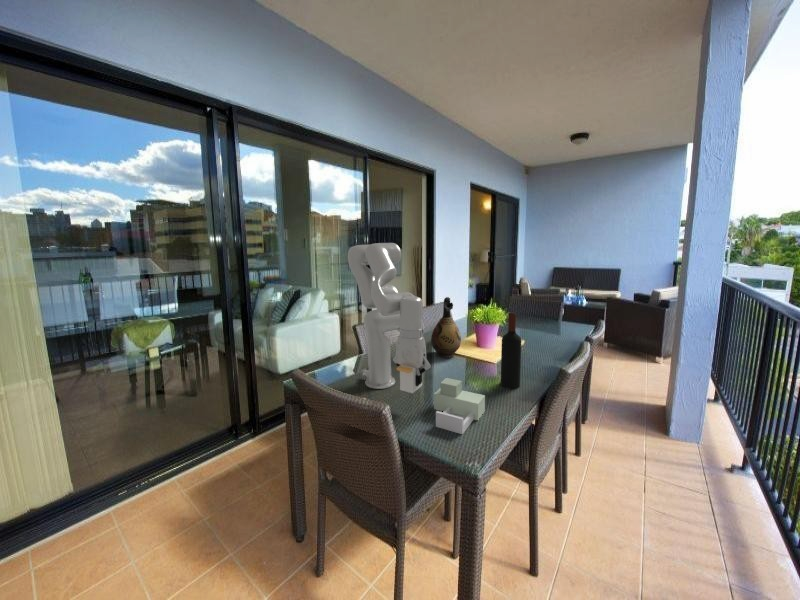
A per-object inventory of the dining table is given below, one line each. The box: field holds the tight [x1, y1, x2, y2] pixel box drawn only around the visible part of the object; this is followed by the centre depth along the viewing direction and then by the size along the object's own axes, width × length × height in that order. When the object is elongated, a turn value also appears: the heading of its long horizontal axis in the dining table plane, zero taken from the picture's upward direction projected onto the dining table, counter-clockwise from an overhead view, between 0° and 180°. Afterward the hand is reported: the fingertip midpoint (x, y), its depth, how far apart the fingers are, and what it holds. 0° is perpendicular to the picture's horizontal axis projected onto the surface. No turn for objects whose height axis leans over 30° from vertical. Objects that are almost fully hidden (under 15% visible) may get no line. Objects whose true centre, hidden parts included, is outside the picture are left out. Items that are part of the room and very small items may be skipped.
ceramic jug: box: [430, 296, 462, 359], centre depth 176 cm, size 17×15×30 cm
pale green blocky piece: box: [433, 377, 486, 435], centre depth 114 cm, size 16×17×10 cm
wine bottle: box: [500, 311, 522, 390], centre depth 136 cm, size 8×8×30 cm
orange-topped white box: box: [396, 365, 423, 394], centre depth 117 cm, size 5×9×9 cm, turn 148°
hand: (411, 382), depth 119 cm, fingers closed on orange-topped white box, 5 cm apart
